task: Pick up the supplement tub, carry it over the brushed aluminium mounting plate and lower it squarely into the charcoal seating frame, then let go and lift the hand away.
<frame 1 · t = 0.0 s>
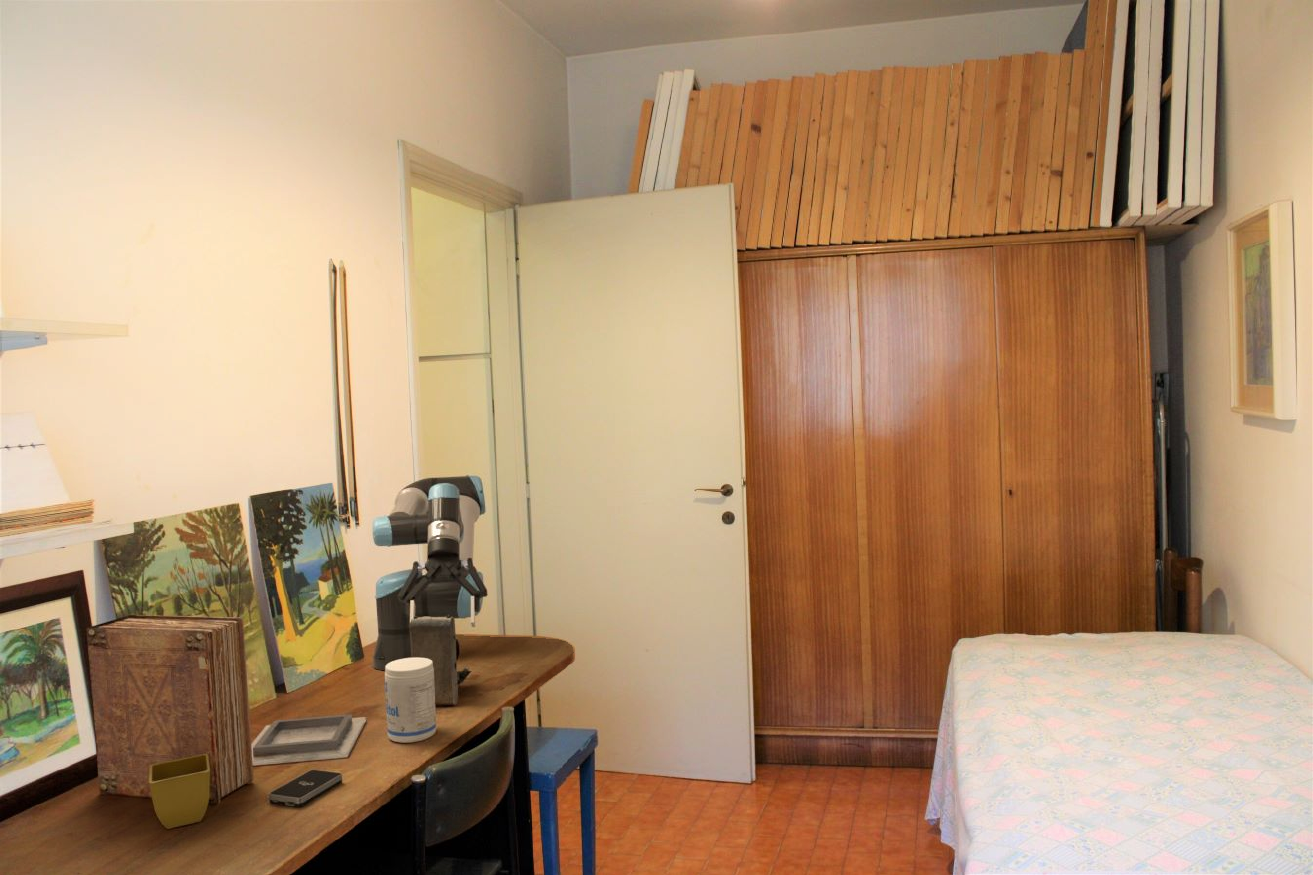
hand: (442, 627, 217), 15 cm above the table, fingers open, 13 cm apart
vintage camera: (444, 697, 215), on the table
mounting plate: (305, 743, 189), on the table
flower pot: (183, 821, 156), on the table
external hard drive: (307, 795, 165), on the table
book: (177, 789, 170), on the table
supplement tub: (412, 736, 191), on the table
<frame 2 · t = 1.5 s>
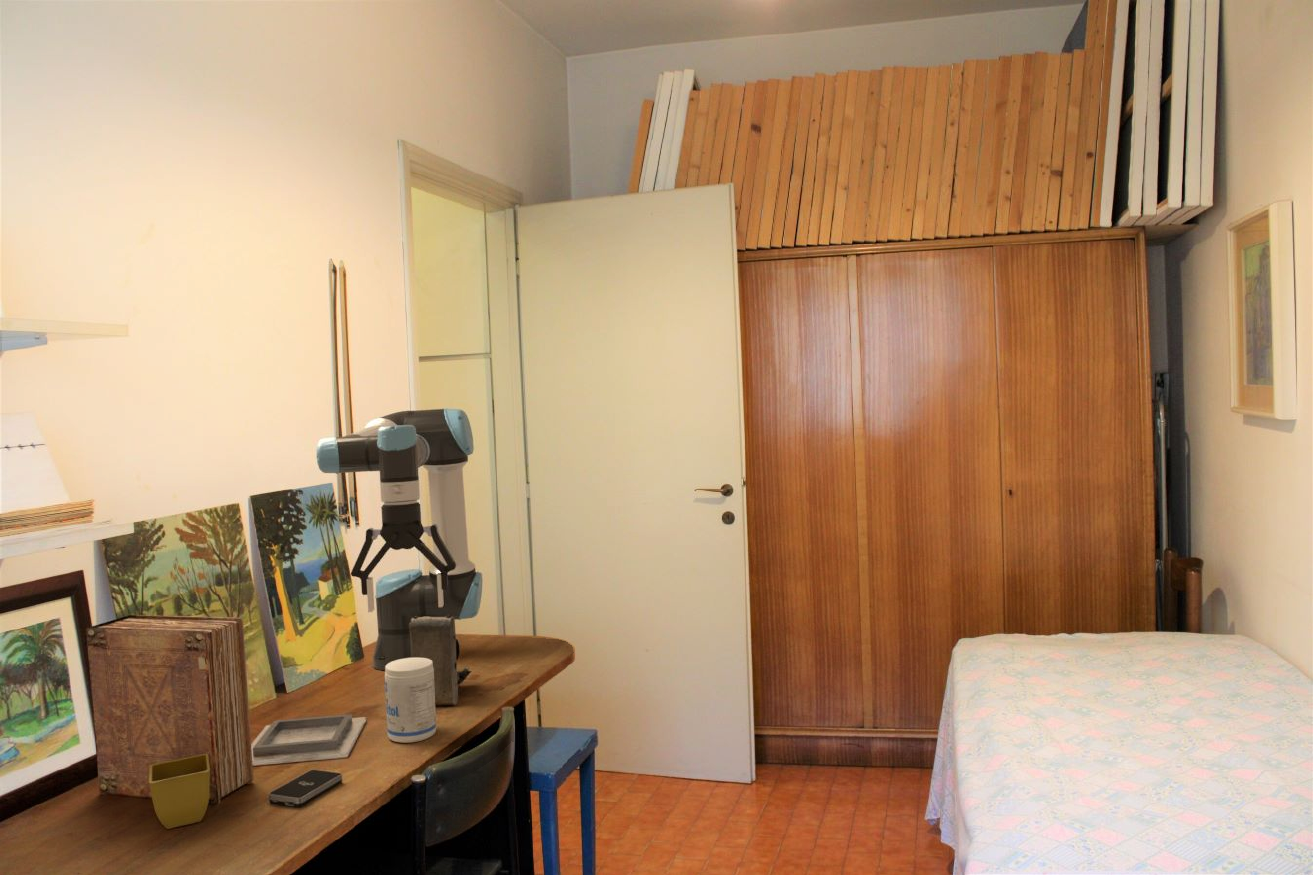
hand: (406, 608, 190), 26 cm above the table, fingers open, 13 cm apart
nothing on the table moved.
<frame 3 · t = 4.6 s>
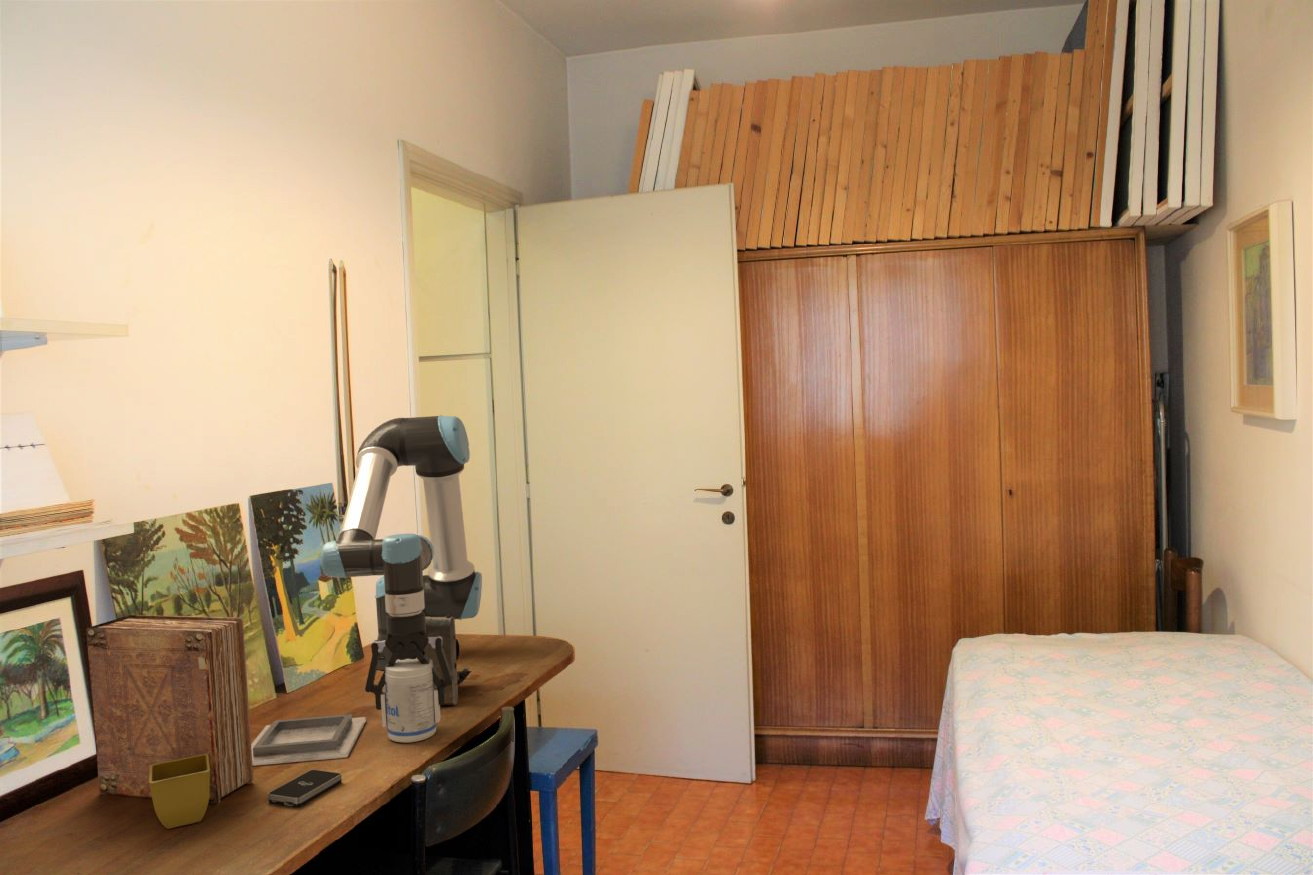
hand: (411, 722, 191), 3 cm above the table, fingers closed on supplement tub, 10 cm apart
supplement tub: (412, 736, 191), on the table, touching gripper
everything else where it was.
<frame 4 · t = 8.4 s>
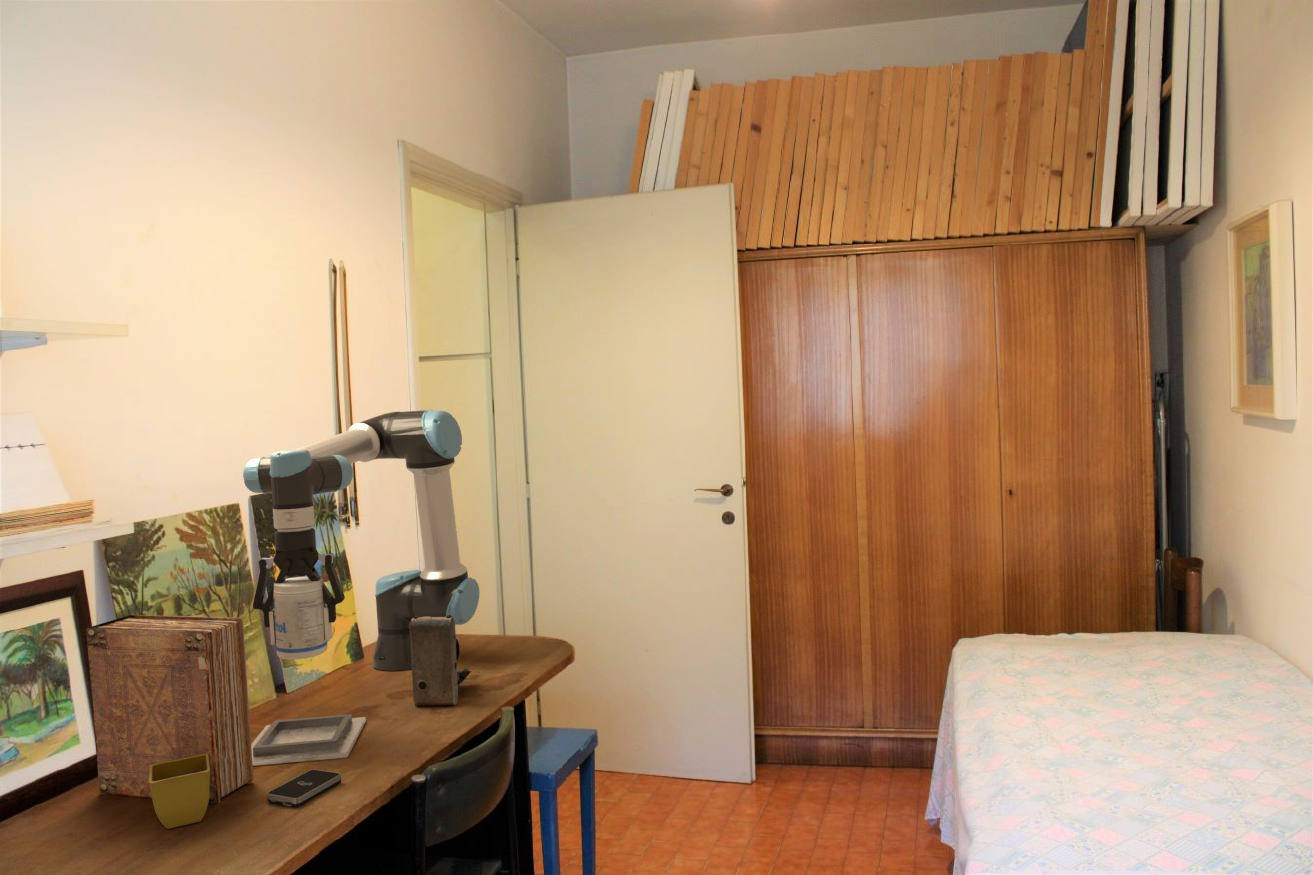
hand: (301, 640, 188), 21 cm above the table, fingers closed on supplement tub, 10 cm apart
supplement tub: (303, 655, 189), point 18 cm above the table, touching gripper
everything else where it was.
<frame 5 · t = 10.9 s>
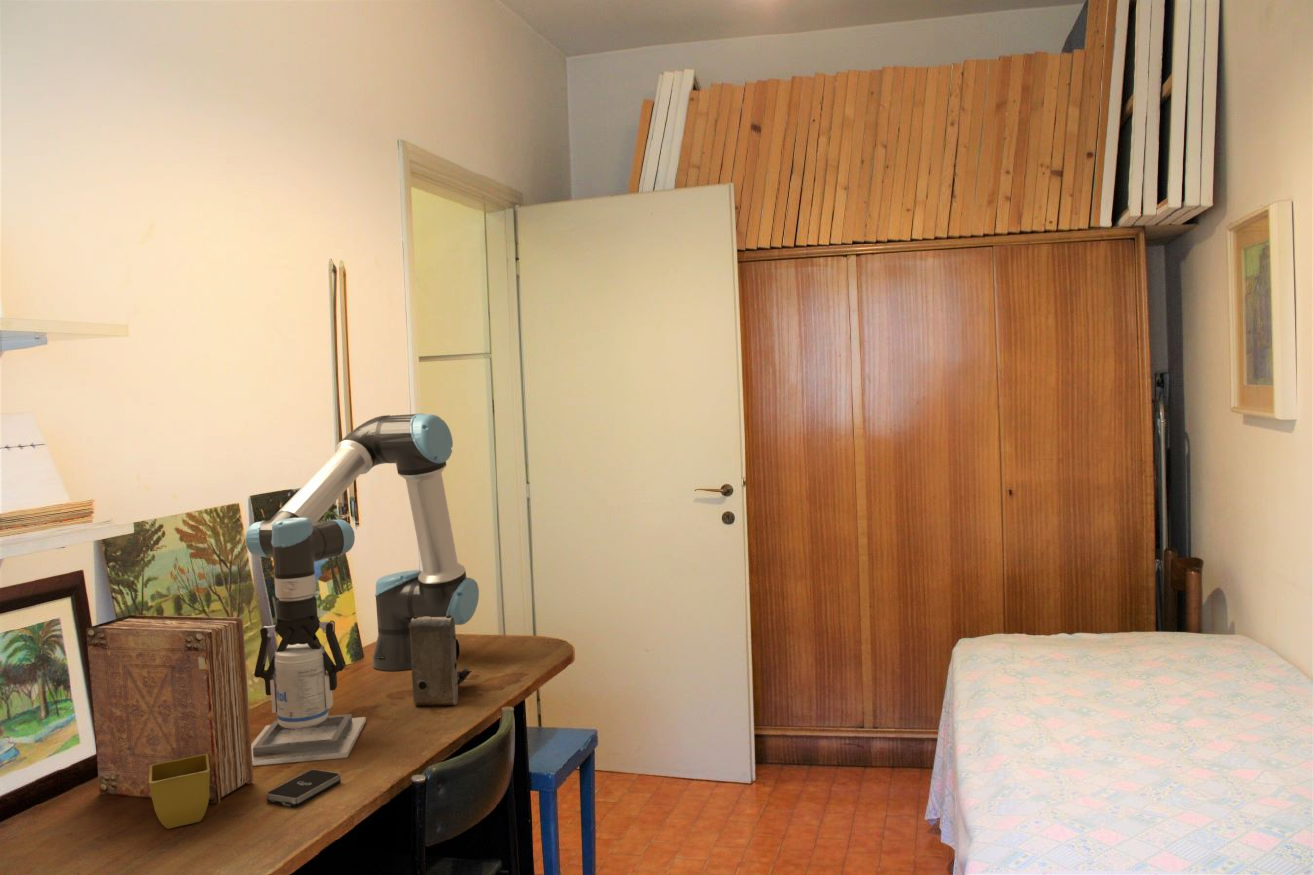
hand: (302, 708, 189), 7 cm above the table, fingers closed on supplement tub, 10 cm apart
supplement tub: (303, 722, 189), point 4 cm above the table, touching gripper
everything else where it was.
when the fingers open (5 cm above the table, at t = 12.7 s): supplement tub drops 1 cm, resting on mounting plate.
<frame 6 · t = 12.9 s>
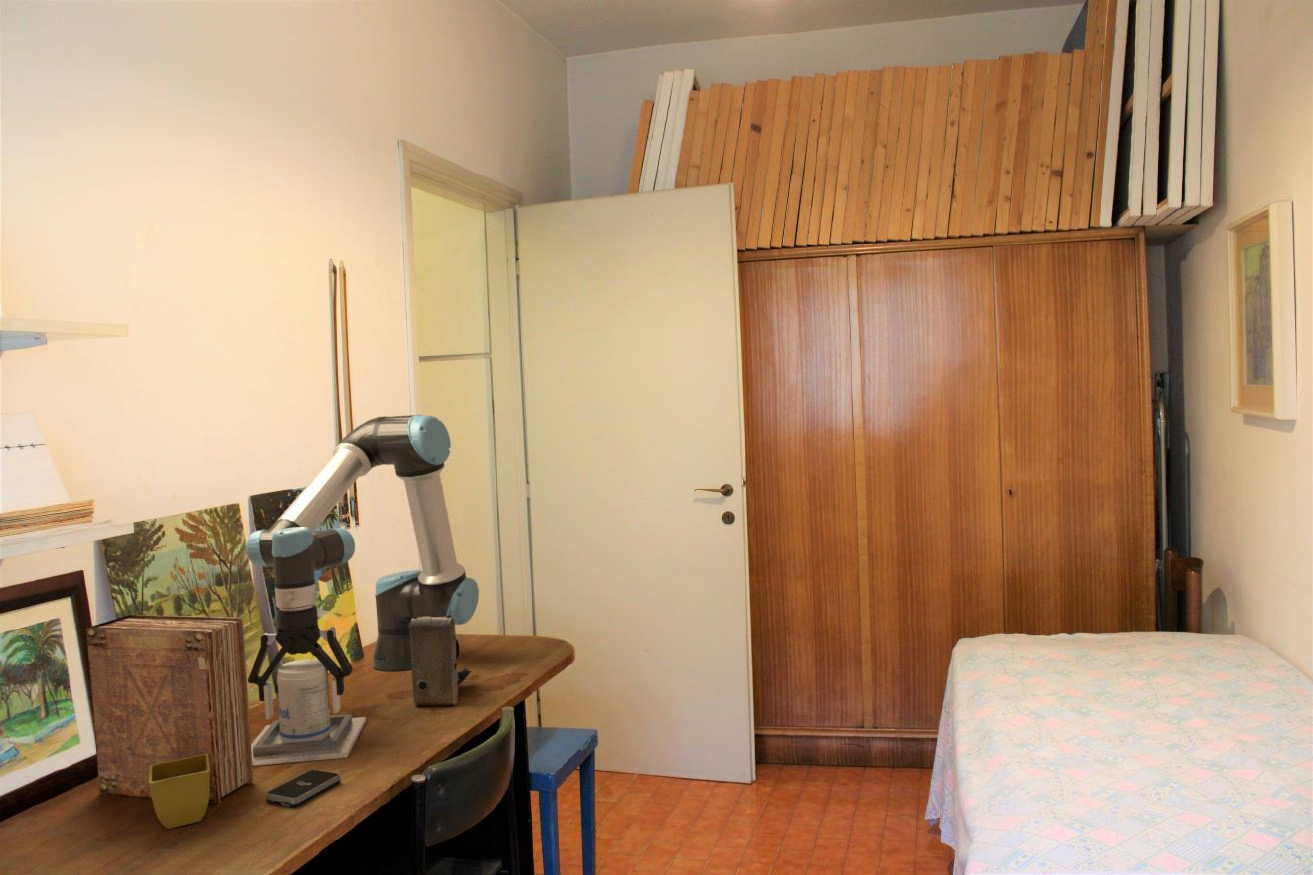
hand: (303, 713, 189), 6 cm above the table, fingers open, 12 cm apart
supplement tub: (306, 738, 189), point 1 cm above the table, touching mounting plate
everything else where it was.
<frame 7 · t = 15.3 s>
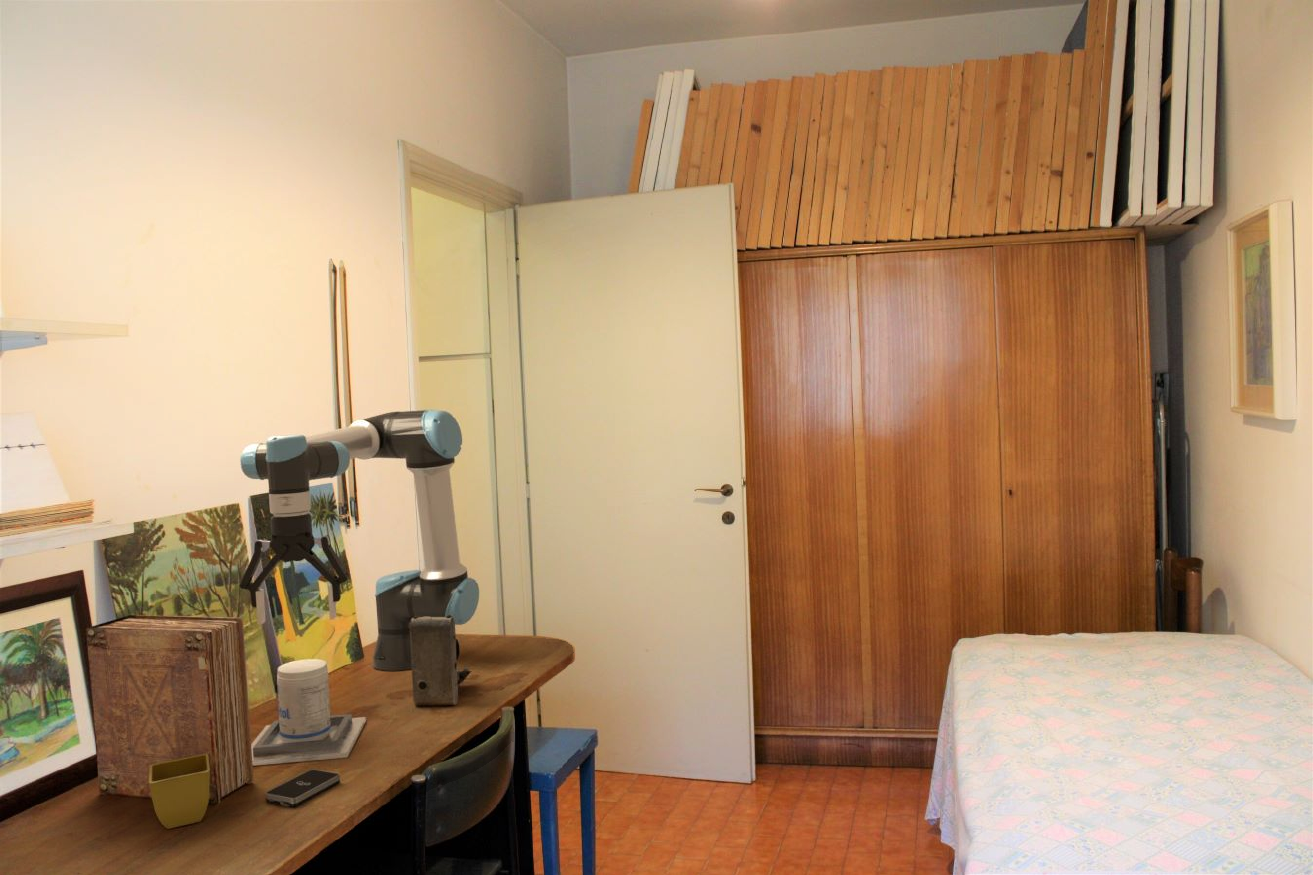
hand: (297, 620, 188), 25 cm above the table, fingers open, 13 cm apart
nothing on the table moved.
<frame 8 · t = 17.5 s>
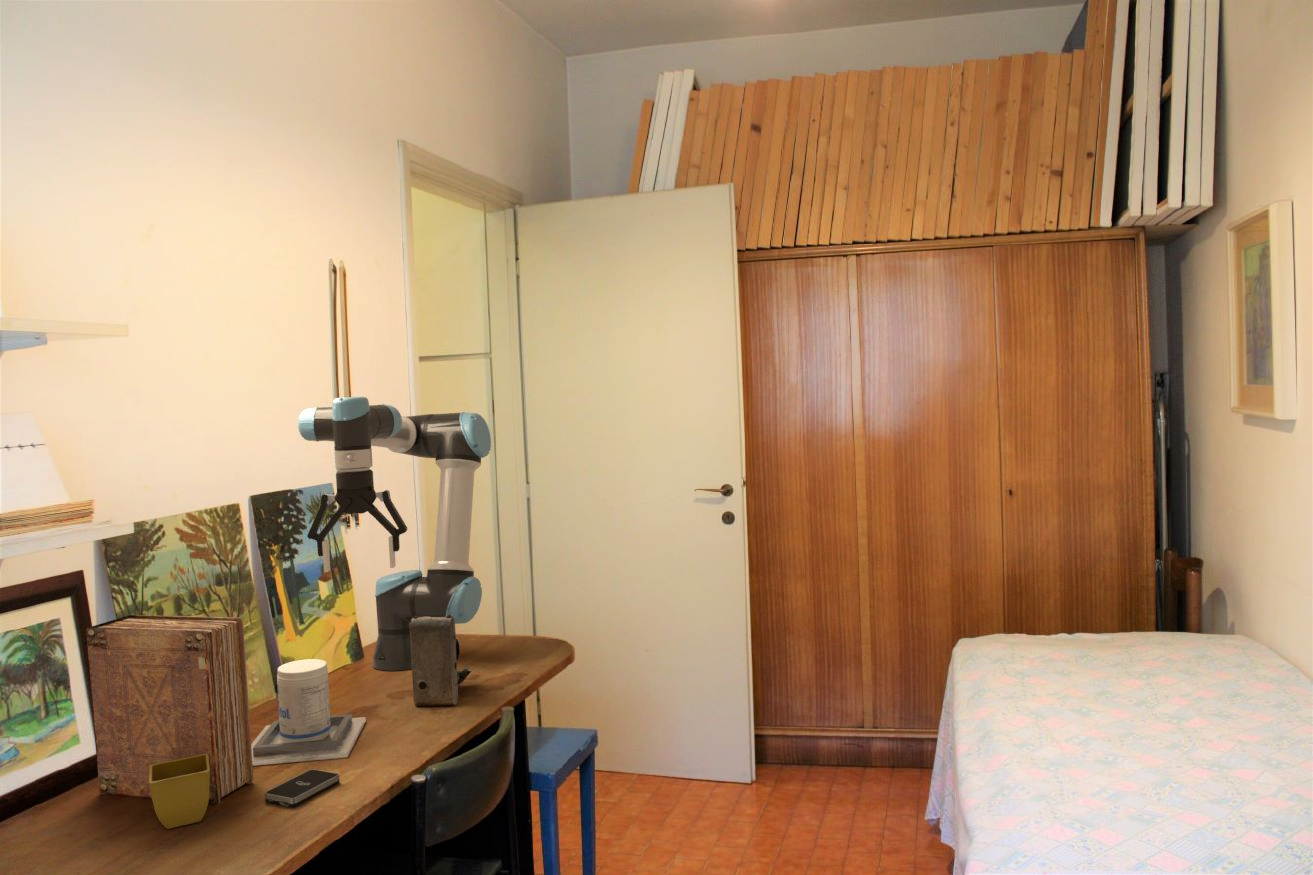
hand: (360, 569, 203), 32 cm above the table, fingers open, 13 cm apart
nothing on the table moved.
at the end: supplement tub 0.3 cm off-centre on the mounting plate, point 0.8 cm above the mounting plate's base; supplement tub tilted 0°; the gripper is holding nothing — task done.
